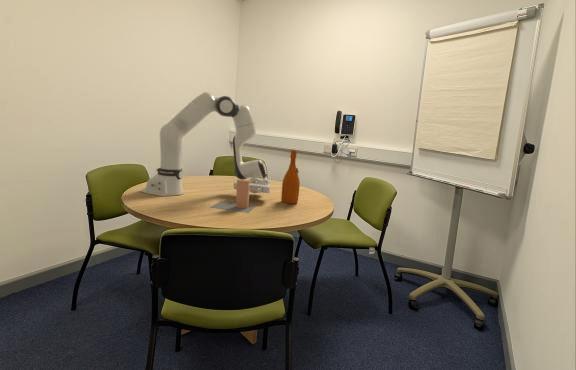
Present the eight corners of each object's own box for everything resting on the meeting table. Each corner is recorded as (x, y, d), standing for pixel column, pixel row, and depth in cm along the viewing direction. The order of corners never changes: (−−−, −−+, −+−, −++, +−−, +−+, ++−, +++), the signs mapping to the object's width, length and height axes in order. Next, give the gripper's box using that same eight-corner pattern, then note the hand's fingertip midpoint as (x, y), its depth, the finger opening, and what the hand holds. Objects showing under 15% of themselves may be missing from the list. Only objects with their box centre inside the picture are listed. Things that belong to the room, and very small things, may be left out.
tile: (235, 206, 179) (237, 179, 177) (237, 205, 182) (238, 179, 179) (246, 208, 178) (248, 181, 176) (248, 207, 181) (250, 180, 178)
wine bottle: (296, 205, 196) (301, 151, 190) (279, 203, 198) (283, 149, 192) (299, 201, 205) (304, 150, 200) (282, 199, 207) (287, 148, 201)
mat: (209, 208, 174) (209, 207, 174) (220, 202, 189) (220, 200, 189) (248, 214, 171) (248, 212, 171) (256, 206, 185) (256, 205, 185)
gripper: (238, 177, 202) (229, 181, 189) (272, 181, 199) (266, 186, 185) (237, 188, 203) (229, 193, 190) (272, 192, 200) (266, 197, 186)
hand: (248, 189), depth 187 cm, fingers open, 8 cm apart
